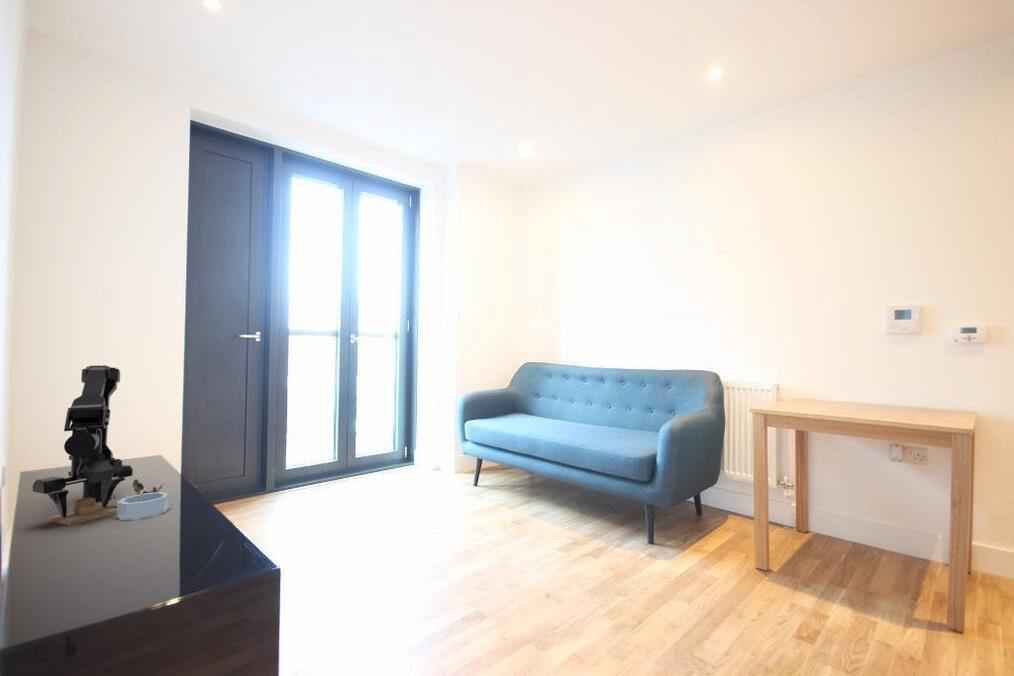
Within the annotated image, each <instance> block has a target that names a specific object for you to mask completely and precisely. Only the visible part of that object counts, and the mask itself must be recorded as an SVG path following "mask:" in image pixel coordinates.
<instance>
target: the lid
mask: <svg viewBox="0 0 1014 676" xmlns="http://www.w3.org/2000/svg"><path fill="white" fill-rule="evenodd" d="M95 501H96V498H92V497H87V498H83V497H81V498H79V499H74V510H72V511H67V514H66V517H62V516H61V514H60V513H59V514H56V515H52V516H48V521H49V522H51V521H52V522H51V523H55V522H56V523H57V524H60V523H61V524H60V525H64V524H65V525H66V526H69V525H70V527H72V525H73V526H75V525H80V524H83V522H84V523H87V521H88V522H91V521H95V520H98V518H99V519H103V518H106V516H107V517H110V516H114V515H117V508H114V507H109V506H108V507H107V506H106V507H102V505H98V504H97V505H96V503H95ZM113 514H114V515H113ZM102 517H103V518H102ZM79 523H80V524H79Z"/></svg>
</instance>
